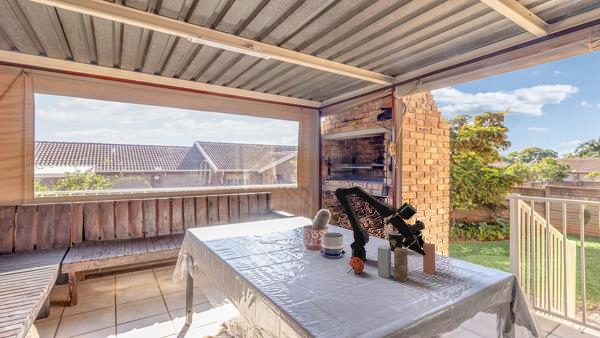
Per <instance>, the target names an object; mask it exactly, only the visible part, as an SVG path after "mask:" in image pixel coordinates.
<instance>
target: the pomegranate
mask: <svg viewBox="0 0 600 338" xmlns="http://www.w3.org/2000/svg"><path fill="white" fill-rule="evenodd" d="M363 259H364V258H363ZM363 259H360V258H357V257H353V258H352V259H351V258H350V259H349V263H348V264H349V266H350V267H351V269H350V270H349V271H348V272H347V274H349V273H350V272H351V271H352V270H353V271H354V272H356V274H357V275H358V274H361V273H363V271H364V270H365V263H364V261H363Z"/></svg>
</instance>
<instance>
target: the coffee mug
mask: <svg viewBox="0 0 600 338" xmlns="http://www.w3.org/2000/svg"><path fill="white" fill-rule="evenodd" d="M387 237H388V244H389V245H388V246H389V247H391V252H392V251H393V253H394V250H395V249H396V248H404V246H403V241H405V240H404V239H405V238H404V237H403V236H402V235H401V234H398V231H389V232H387Z"/></svg>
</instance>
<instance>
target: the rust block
mask: <svg viewBox="0 0 600 338" xmlns="http://www.w3.org/2000/svg"><path fill="white" fill-rule="evenodd" d="M422 249H423V251H424V252H425V254H426V255H425V256H423V255H422V270H423V271H422V273H425V274H432V275H435V272H436V244H435V243H430V242H425V243H424V244H423V248H422Z"/></svg>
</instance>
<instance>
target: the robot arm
mask: <svg viewBox="0 0 600 338" xmlns="http://www.w3.org/2000/svg"><path fill="white" fill-rule="evenodd" d="M351 195H356V196H357V197H359V198H361V200H363V201H364V202H365V203H367V204H369V206H371V207H372V208H373V209H374V210H375V211H376V212H377V213H378V215H379V216H380V217H382V218H384V219H385V218H386V219H385V226H388V225H391V226H392V227H393V228H394V229H395V231H396V232H398V234H401V235H402V236H403V237H404V240H403V245H402V246H403V248H404V249H407V250H410V251H413V252H415V253H417V254H419V255H421V256H422V257H423V256H425V255H426V254H425V252H424V251H423V244H424V243H426V241H424V238H423V237H424V236H423V231H424V230H425V228H426V227H425V223H424V222H423V221H421V220H420V219H417V220H415V221H414V223H413V224H410V223H407V222H406V221H409V220H410V219H411V218H413V216H415V215H416V214H417V213H418V211H417V209H416V208H415V206H413V205H411V204H410V203H408V202H406V201H405V202H404V203H403V204H402V205H400V207H399V208H397V207H393V206H392V205H390V204H388V203H387V202H384V201H381V200H379V199H378V198H376V197H375V196H373V195H372V194H370V193H369V192H367V191H366V190H364V189H363V188H361V186H358V185H355V186H352V187H339V188H336V189H335V191H334V196H335V198H336V199H337V201H338V202H339V203H340V204H341V206H342V207H343V209H344V212H345V216H347V220H348V222H349V224H350V226H351V229H352V233H353V235H352V236H353V240H354V241H353V242H352V243H350V244H349V246H350V248H351V256H350V260H351V259H352V258H353V257H357V258H360V259H363V258H364V259H363V262H366V261H368V259H367V250H366V245H367V244H369V242H370V233H368V229H367V228H365V229H364V228H363V227H362V226H361V223H360V219H359V218H358V216H357V214H356V212H355V209H354V206H353V205H352V201H351ZM394 215H395V216H394ZM387 218H389V219H387Z"/></svg>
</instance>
